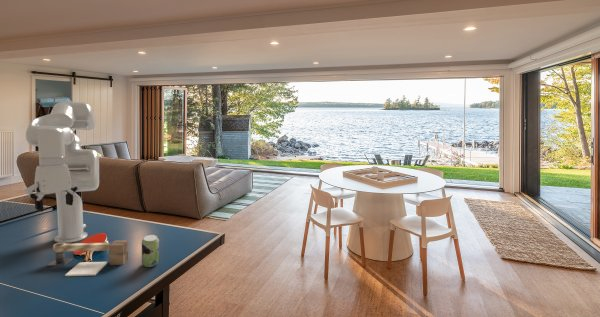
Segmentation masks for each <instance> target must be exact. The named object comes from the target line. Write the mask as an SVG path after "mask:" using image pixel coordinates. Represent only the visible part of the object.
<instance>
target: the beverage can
mask: <svg viewBox="0 0 600 317" xmlns="http://www.w3.org/2000/svg"><path fill="white" fill-rule="evenodd" d="M159 246H160V239H159V238H158V236H157V235H156V234H147V235H145V236H144V237H143V239H142V241H141V265H142V266H143V267H146V268H151V267H152V268H153V267H155V266H156V265H157V264H158V263H159V260H160V259H159V257H160V256H159V252H160V248H159Z"/></svg>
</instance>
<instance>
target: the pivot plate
mask: <svg viewBox="0 0 600 317" xmlns="http://www.w3.org/2000/svg"><path fill="white" fill-rule="evenodd" d="M72 260H73V257H66V258H65V260H64V261H62V262H56V258H55V259H54V260H52V261H51V262H49V263H48V264H47V265H46V266H48V267H51V266H52V267H53V266H54V267H55V266H57V267H59V266H61V267H62V266H65V265H67V264H68V263H69V262H71V261H72Z"/></svg>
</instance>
